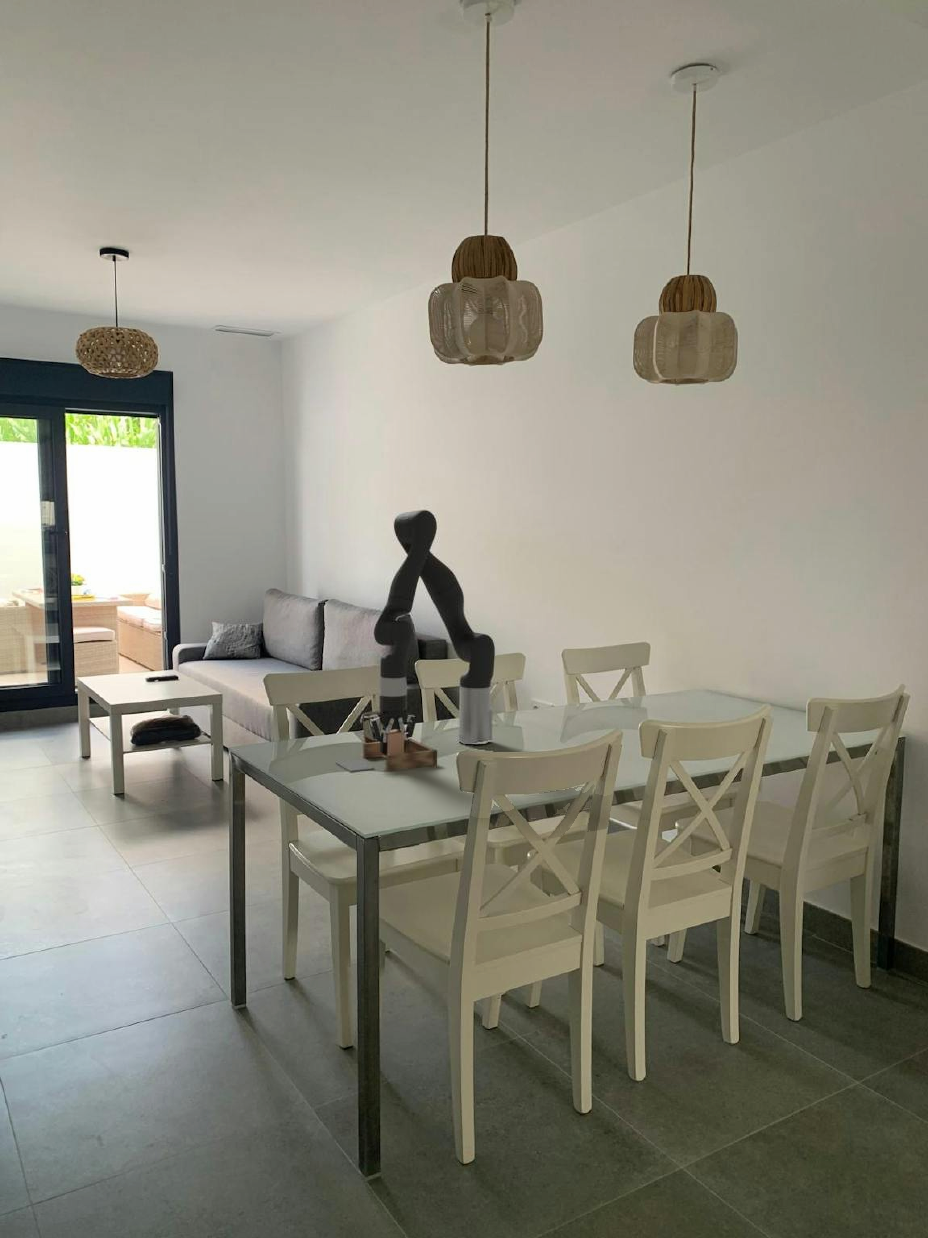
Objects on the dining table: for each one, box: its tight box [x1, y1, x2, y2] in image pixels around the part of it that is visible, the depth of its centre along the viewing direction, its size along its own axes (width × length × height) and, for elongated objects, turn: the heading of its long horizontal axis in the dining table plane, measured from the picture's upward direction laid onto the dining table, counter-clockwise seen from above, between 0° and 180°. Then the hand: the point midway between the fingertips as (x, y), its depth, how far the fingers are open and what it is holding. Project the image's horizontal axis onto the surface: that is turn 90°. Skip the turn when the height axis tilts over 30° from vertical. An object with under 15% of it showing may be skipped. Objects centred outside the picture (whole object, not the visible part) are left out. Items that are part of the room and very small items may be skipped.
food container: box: [360, 710, 396, 743], centre depth 284 cm, size 12×6×10 cm, turn 111°
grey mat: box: [335, 759, 375, 773], centre depth 260 cm, size 7×10×1 cm
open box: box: [362, 737, 438, 772], centre depth 266 cm, size 15×16×4 cm
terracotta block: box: [382, 730, 404, 759], centre depth 265 cm, size 4×4×7 cm
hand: (392, 753), depth 265 cm, fingers closed on terracotta block, 4 cm apart
